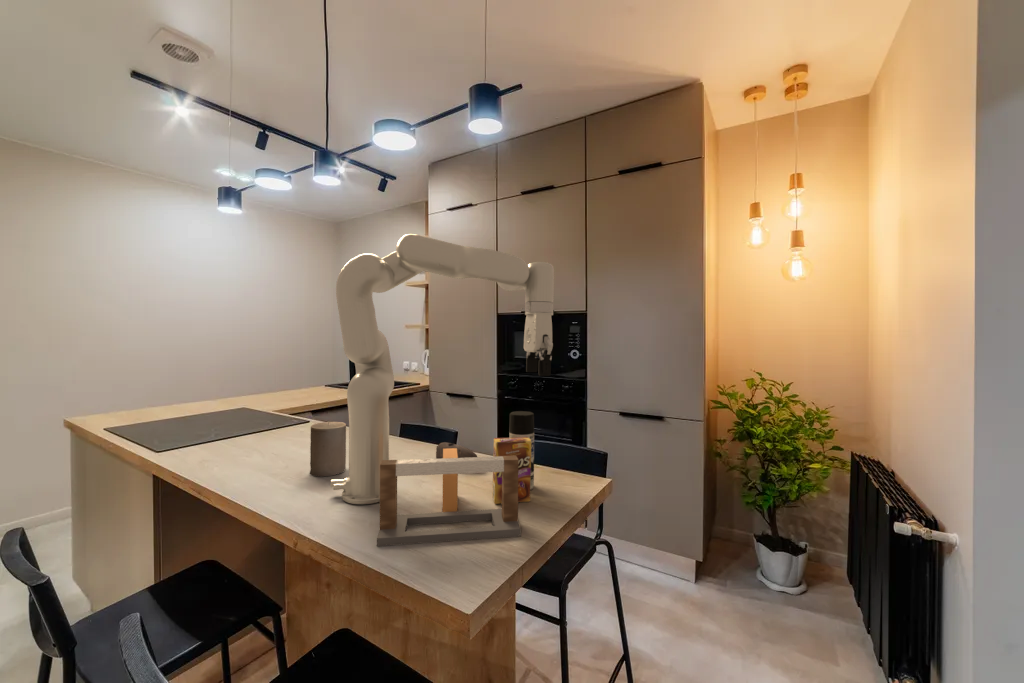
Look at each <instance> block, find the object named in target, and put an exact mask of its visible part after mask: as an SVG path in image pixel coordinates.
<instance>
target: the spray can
mask: <svg viewBox="0 0 1024 683" xmlns="http://www.w3.org/2000/svg"><path fill="white" fill-rule="evenodd" d="M508 426H509V427H508V430H509V431H508V433H509V434H508V435H509V437H508V438H514V437H528V438H529V439H530V440H531V479H530V491H532V490H533V489H534V487H535V485H534V484H535V414H534V412H532V411H526V410H525V411H523V410H518V411H517V410H515V411H511V412H510V413H509V425H508Z"/></svg>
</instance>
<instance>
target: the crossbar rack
mask: <svg viewBox="0 0 1024 683" xmlns="http://www.w3.org/2000/svg"><path fill="white" fill-rule="evenodd" d="M493 472H502V503H501V508H491V509H473V510H471V509H470V510H457V511H453V512H442V511H438V512H423V513H422V512H421V513H419V512H418V513H405V514H398V477H410V476H413V477H414V476H430V475H432V476H435V475H443V474H477V473H478V474H479V473H480V474H481V473H483V474H484V473H493ZM518 516H519V502H518V458H517V456H516V455H515V456H497V457H493V456H477V457H469V458H442V459H436V458H420V459H419V458H418V459H417V458H416V459H389V460H382V462H381V464H380V502H379V531H378V533H377V537H376V547H384V546H385V547H386V546H397V545H398V546H400V545H412V544H425V543H426V544H427V543H428V544H429V543H440V542H443V543H444V542H455V541H458V542H459V541H471V540H472V541H473V540H484V539H501V538H502V539H503V538H516V537H521V535H522V534H521V533H522V531H521V530H522V528H521V526H520V522H519V520H518ZM479 521H480V522H481V521H491V524H492V525H487V526H486V525H485V526H472V527H471V526H469V527H456V528H455V527H454V528H440V529H439V528H438V529H425V530H412V531H411V530H410V531H407V529H408V526H414V525H417V526H418V525H430V524H445V523H446V524H447V523H450V524H451V523H463V522H464V523H465V522H479Z"/></svg>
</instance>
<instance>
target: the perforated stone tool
mask: <svg viewBox="0 0 1024 683" xmlns="http://www.w3.org/2000/svg"><path fill="white" fill-rule="evenodd" d="M449 448H457V455H458V458H469V457H478V454H476V453H475V452H474V451H473V450H471V449H470V448H467V447H465V446H462V445H460V444H455V443H451V442H446V441H444V442H440V443H439V444H438V445H436V449H435V450H436V451H435V459H442V458H443V449H449Z"/></svg>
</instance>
